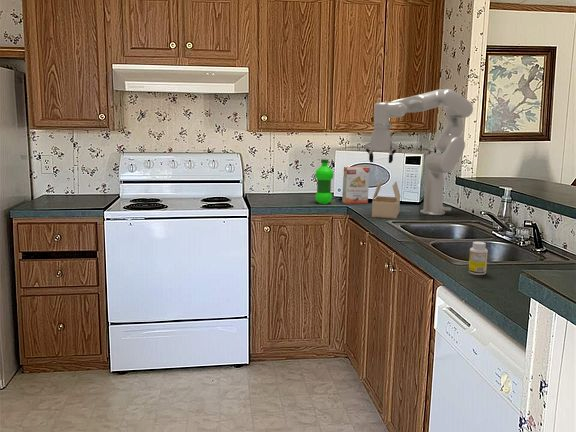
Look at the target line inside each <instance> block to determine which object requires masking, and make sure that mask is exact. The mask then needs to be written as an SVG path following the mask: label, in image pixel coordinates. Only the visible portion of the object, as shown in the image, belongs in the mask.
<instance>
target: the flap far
mask: <svg viewBox="0 0 576 432" xmlns="http://www.w3.org/2000/svg"><path fill="white" fill-rule="evenodd" d="M382 184H383V180H381V181H380V182H379V183H378V184H377V186H376V189H375V191H374V194H373V196H372V201H373V200H374V199H375V198H376V197H377V196H378V194H379V192H380V190H381V186H382Z"/></svg>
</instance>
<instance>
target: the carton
mask: <svg viewBox="0 0 576 432" xmlns="http://www.w3.org/2000/svg"><path fill="white" fill-rule="evenodd" d="M400 201H401V197H400V198H399V200H398V201H396V197H395V196H378V195H377V196H376V197H375V198H374V200H372V202H371V205H372V207H371V218H376V217H377V218H379V219H395V220H396V219H397V218H398V216H399V214H400Z"/></svg>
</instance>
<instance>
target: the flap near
mask: <svg viewBox="0 0 576 432" xmlns="http://www.w3.org/2000/svg"><path fill="white" fill-rule="evenodd" d="M392 190H393V193H394V197H396V201H398V200H399V198H400V199H401V193H400V189H399V187H398V183H397V181H395V182H394V183H393V184H392Z"/></svg>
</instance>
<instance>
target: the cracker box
mask: <svg viewBox="0 0 576 432" xmlns="http://www.w3.org/2000/svg"><path fill="white" fill-rule="evenodd" d="M370 169H371V168H370V167H367V166H343V173H342V174H343V175H342V176H343V178H342V179H343V180H342V197H341V198H342V200H341V203H343V204H347V205H348V204H349V205H351V204H352V205H353V204H354V205H355V204H356V205H357V204H360V205H361V204H363V205H364V204H366V205H367V204H368V202H369V189H370V187H369V185H370Z"/></svg>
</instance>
